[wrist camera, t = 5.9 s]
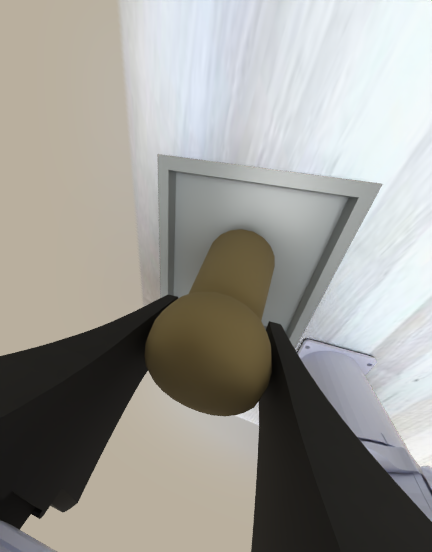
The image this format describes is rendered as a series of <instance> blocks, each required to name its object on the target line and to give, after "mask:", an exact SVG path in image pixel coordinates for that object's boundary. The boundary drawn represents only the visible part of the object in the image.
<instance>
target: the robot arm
mask: <svg viewBox="0 0 432 552" xmlns="http://www.w3.org/2000/svg"><path fill="white" fill-rule="evenodd" d="M177 299H178V297H177V296H173V295H169V294H168V295H166V296H164V297H162V298H160V299H158V300H156V301H154V302H152V303H150V304H148V305H147V306H145V307H143V308H141V309H139V310H137V311H135V312H132V313H130V314H128V315H126V316H124V317H121V318H119V319H117V320H115V321H113V322H110V323H108V324H105V325H103V326H100V327H98V328H95V329H92V330H90V331H87V332H84V333H81V334H78V335H75V336H72V337H69V338H65V339H62V340H59V341H56V342H53V343H49V344H46V345H43V346H39V347H35V348H31V349H28V350H24V351H20V352H16V353H12V354H8V355H3V356H0V552H57V551H55V550H53V549H51V548H50V547H48V546H46V545H45V544H43V543H41V542H39V541H38V540H36V539H34V538H32V537H31V536H29V535H27V534H26V533H24V532H22V531H21V530H20V528H21V527H22V525H23V524H24V523H25V521H26V520H27V518H28V517H29V516H30V514H32V515H34V516H36V517H37V518H39V519H40V518H41V517H42V516H43V515H44V514H45V512H46V511H47V509H48V508H49V506H52V507H54V508H56V509H57V510H59V511H61V512H65V511H67V510H68V509H70V508H72V507H73V506H74V505H75V504H77V503H78V501H79V499H80V497H81V495H82V492H83V491H84V488H85V486H86V484H87V482H88V480H89V478H90V476H91V474H92V472H93V470H94V468H95V466H96V464H97V462H98V460H99V458H100V456H101V454H102V452H103V450H104V448H105V446H106V444H107V442H108V440H109V438H110V437H111V435H112V433H113V431H114V429H115V427H116V425H117V423H118V421H119V419H120V418H121V416H122V414H123V412H124V410H125V408H126V406H127V404H128V403H129V401H130V399H131V397H132V396H133V394H134V392H135V390H136V389H137V387H138V385H139V383H140V382H141V380H142V378H143V377H144V375H145V374H146V372H147V371H148V369H147V367H146V363H145V356H144V355H145V344H146V340H147V338H148V335H149V332H150V330H151V328H152V326H153V324H154V321H155V319H156V318H157V317H158V316H159V315H160V314H161V312H162V311H163V310H164V309H165V308H167V307H168V306H169V305H170V304H171V303H173V302H174V301H175V300H177ZM266 332H267V334H268V337H269V340H270V343H271V362H272V373H271V377H270V381H269V385H268V387H267V389H266V390H265V392H264V394H263V395H262V397H261V398H260V400H259V443H258V463H257V480H256V496H255V511H254V525H253V537H252V550H251V552H432V467H430V466H421V467H420V466H419V465H418V464H417V462H416V461H415V460H414V458H413V457H412V455H411V454H410V452H409V450H408V448H407V447H406V445H405V443H404V442H403V440H402V438H401V437H400V435H399V433H398V431H397V430H396V428H395V426H394V425H393V423H392V421H391V419H390V418H389V416H388V414H387V413H386V411H385V409H384V407H383V406H382V404H381V402H380V401H379V399H378V397H377V395H376V394H375V392H374V390H373V389H372V387H371V385H370V383H369V382H368V380H367V378H366V377H365V375H366V374H367V373H368V372H369V371H370V370H371V369H372V367H373V366H374V365H375V364H376V363H377V360H376V359H375V358H374V357H371V356H368V355H364V354H361V353H357V352H353V351H350V350H346V349H342V348H339V347H335V346H331V345H328V344H324V343H320V342H317V341H313V340H309V339H307V340H305V341H304V342H303V344H302V346H301V348H300V349H299V351H298V353H297V352H296V350H295V349H294V347H293V345H292V343H291V342H290V340H289V338H288V336H287V334H286V333H285V331H284V329H283V327H282V326H281V324H278V323H274V322H270V321H269V322H268V325H267V328H266Z"/></svg>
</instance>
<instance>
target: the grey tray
mask: <svg viewBox="0 0 432 552" xmlns="http://www.w3.org/2000/svg"><path fill="white" fill-rule="evenodd" d="M381 186H382V184H380V183H372V182H365V181H357V180H350V179H342V178H334V177H327V176H319V175H312V174H304V173H297V172H289V171H281V170H274V169H266V168H259V167H251V166H243V165H236V164H228V163H221V162H213V161H205V160H198V159H190V158H183V157H175V156H167V155H160V154H158V199H159V247H160V295H161V298H162V297H164V296H166V295H168V294H169V295H173V296H177V297H178V299H179V298H180V297H182V296H184V295H187V294H189V292H190V290H191V288H192V285H193V283H194V281H195V279H196V277H197V275H198V273H199V270H200V268H201V266H202V264H203V262H204V260H205V258H206V255H207V253H208V251H209V249H210V247H211V245H212V243H213V242H214V241H215V240H216V239H217V238H218V237H219V236H220V235H221V234H223V233H226V232H228V231H230V230H238V229H243V230H248V231H253V232H255V233H256V234H258V235H260V236H262V237H263V238H264V239H265V240H266V241H267V242H268V244H269V245H270V246H271V248H272V251H273V253H274V256H275V267H274V271H273V275H272V279H271V284H270V288H269V292H268V296H267V300H266V304H265V308H264V312H263V316H262V320H261V321H262V324H263V326H264V328H265V330H266V328H267V325H268V322H269V321H270V322H274V323H278V324H281V326H282V327H283V329H284V331H285V333H286V334H287V336H288V338H289V340H290V342H291V343H292V345H293V347H294V349H295V348H296V346H297V344H298V342H299V340H300V338H301V336H302V334H303V333H304V331H305V329H306V327H307V325H308V323H309V321H310V319H311V318H312V316H313V314H314V312H315V310H316V308H317V306H318V304H319V302H320V301H321V299H322V297H323V295H324V293H325V291H326V289H327V287H328V286H329V284H330V282H331V280H332V278H333V276H334V274H335V272H336V271H337V269H338V267H339V265H340V263H341V261H342V259H343V257H344V256H345V254H346V252H347V250H348V248H349V246H350V244H351V242H352V241H353V239H354V237H355V235H356V233H357V231H358V229H359V227H360V226H361V224H362V222H363V220H364V218H365V216H366V214H367V212H368V211H369V209H370V207H371V205H372V203H373V201H374V199H375V197H376V195H377V194H378V192H379V190H380V188H381Z"/></svg>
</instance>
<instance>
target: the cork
mask: <svg viewBox="0 0 432 552" xmlns="http://www.w3.org/2000/svg"><path fill="white" fill-rule="evenodd" d="M274 267H275V256H274V253H273V251H272V248H271V246H270V245H269V244H268V242H267V241H266V240H265V239H264V238H263V237H262V236H260V235H258V234H256V233H255V232H253V231H248V230H243V229H238V230H230V231H228V232H226V233H223V234H221V235H220V236H219V237H218V238H217V239H216V240H215V241H214V242H213V243H212V245H211V247H210V249H209V251H208V253H207V255H206V258H205V260H204V262H203V264H202V266H201V268H200V270H199V273H198V275H197V277H196V279H195V281H194V283H193V285H192V288H191V290H190V292H189V294H187V295H184V296H182V297H180V298H179V299H177V300H175V301H174V302H173V303H171V304H170V305H169V306H168V307H167V308H165V309H164V310H163V311H162V312H161V314H160V315H159V316H158V317H157V318H156V319H155V321H154V324H153V326H152V328H151V330H150V332H149V335H148V338H147V340H146V344H145V355H144V356H145V363H146V367H147V369H148V371H149V373H150V375H151V376H152V378H153V380H154V382H155V383H156V384H157V385H158V386H159V387H160V388H161V390H162V391H163V392H165V393H166V394H167V395H169V396H170V397H171V398H172V399H174V400H176V401H177V402H179V403H181V404H183V405H185V406H187V407H189V408H191V409H194V410H196V411H199V412H202V413H206V414H210V415H217V416H231V415H237V414H241V413H244V412H246V411H248V410H250V409H252V408H254V407H255V405H256V404H257V403H258V401H259V400H260V398H261V397H262V395H263V394H264V392H265V390H266V389H267V387H268V385H269V381H270V377H271V373H272V362H271V343H270V340H269V337H268V334H267V332H266V330H265V328H264V326H263V324H262V321H261V320H262V316H263V312H264V308H265V304H266V300H267V296H268V292H269V288H270V284H271V279H272V275H273V271H274Z"/></svg>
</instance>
